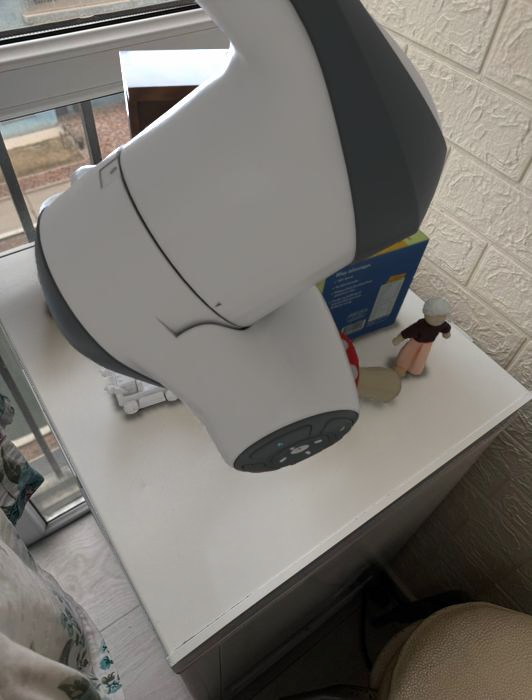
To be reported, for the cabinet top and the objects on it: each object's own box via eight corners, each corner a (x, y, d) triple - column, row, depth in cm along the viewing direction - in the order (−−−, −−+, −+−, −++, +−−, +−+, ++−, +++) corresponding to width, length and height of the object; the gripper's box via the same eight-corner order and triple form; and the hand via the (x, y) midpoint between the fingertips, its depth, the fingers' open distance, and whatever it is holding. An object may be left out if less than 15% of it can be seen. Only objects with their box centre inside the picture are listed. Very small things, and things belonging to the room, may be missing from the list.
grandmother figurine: (393, 386, 65) (425, 320, 56) (377, 364, 67) (405, 296, 58) (440, 370, 68) (479, 304, 58) (424, 349, 70) (459, 282, 60)
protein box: (268, 307, 73) (279, 216, 61) (355, 278, 78) (381, 190, 66) (305, 359, 67) (325, 271, 55) (396, 324, 72) (433, 237, 61)
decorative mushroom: (385, 333, 67) (286, 312, 61) (441, 359, 58) (331, 338, 51) (360, 409, 70) (263, 397, 63) (410, 447, 60) (301, 437, 53)
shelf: (149, 266, 76) (127, 87, 56) (141, 225, 82) (119, 50, 62) (240, 255, 79) (250, 83, 59) (226, 217, 85) (230, 48, 65)
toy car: (210, 390, 63) (210, 369, 59) (113, 421, 59) (107, 400, 55) (194, 354, 66) (193, 332, 63) (101, 381, 62) (94, 359, 59)
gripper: (377, 198, 35) (313, 104, 43) (68, 226, 30) (61, 114, 38) (356, 267, 40) (302, 170, 48) (87, 300, 35) (78, 187, 43)
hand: (193, 145), depth 43 cm, fingers open, 8 cm apart
